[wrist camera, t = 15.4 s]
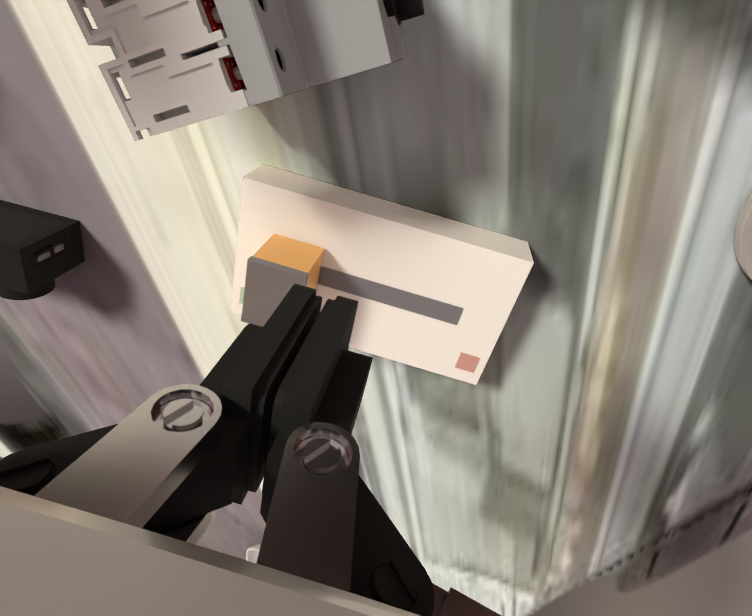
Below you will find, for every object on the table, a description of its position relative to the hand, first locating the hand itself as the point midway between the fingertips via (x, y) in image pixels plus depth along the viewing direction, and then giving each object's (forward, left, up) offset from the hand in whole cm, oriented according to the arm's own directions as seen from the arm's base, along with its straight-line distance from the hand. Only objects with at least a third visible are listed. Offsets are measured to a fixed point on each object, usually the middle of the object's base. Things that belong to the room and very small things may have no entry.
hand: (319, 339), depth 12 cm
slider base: (0, +11, -27) cm, 29 cm away
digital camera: (+33, +18, -27) cm, 46 cm away
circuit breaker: (+8, -6, -27) cm, 29 cm away
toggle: (+6, +11, -22) cm, 26 cm away
